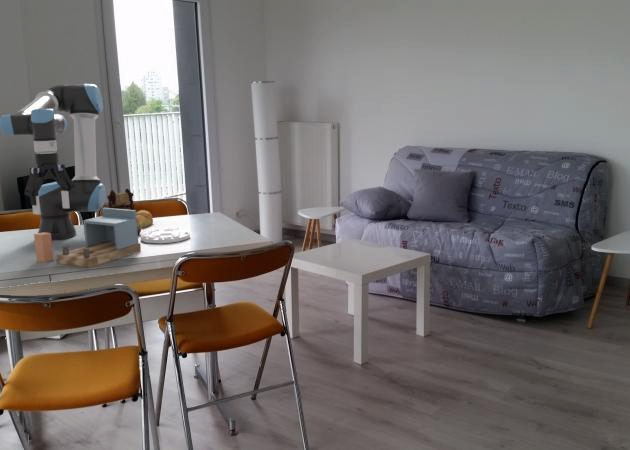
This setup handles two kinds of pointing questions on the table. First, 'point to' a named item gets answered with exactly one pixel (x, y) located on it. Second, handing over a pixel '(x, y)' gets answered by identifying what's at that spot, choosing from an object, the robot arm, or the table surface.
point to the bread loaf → (144, 218)
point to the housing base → (95, 254)
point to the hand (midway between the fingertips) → (51, 211)
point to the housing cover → (112, 228)
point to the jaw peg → (43, 247)
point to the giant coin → (164, 235)
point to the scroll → (121, 202)
